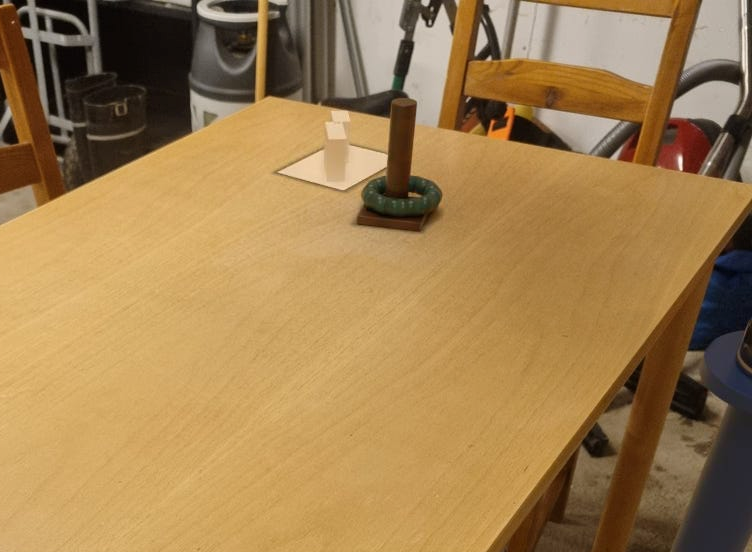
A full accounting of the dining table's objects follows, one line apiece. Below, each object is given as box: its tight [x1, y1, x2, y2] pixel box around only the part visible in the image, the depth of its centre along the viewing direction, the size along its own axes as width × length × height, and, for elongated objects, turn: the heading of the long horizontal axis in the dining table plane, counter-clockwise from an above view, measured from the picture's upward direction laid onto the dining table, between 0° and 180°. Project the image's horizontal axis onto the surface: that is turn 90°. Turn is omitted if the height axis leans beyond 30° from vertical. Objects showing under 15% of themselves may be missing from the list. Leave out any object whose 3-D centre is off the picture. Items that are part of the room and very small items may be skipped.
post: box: [356, 97, 430, 232], centre depth 113 cm, size 8×8×13 cm
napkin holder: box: [277, 110, 388, 191], centre depth 128 cm, size 15×11×6 cm
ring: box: [360, 175, 444, 217], centre depth 118 cm, size 10×10×2 cm
